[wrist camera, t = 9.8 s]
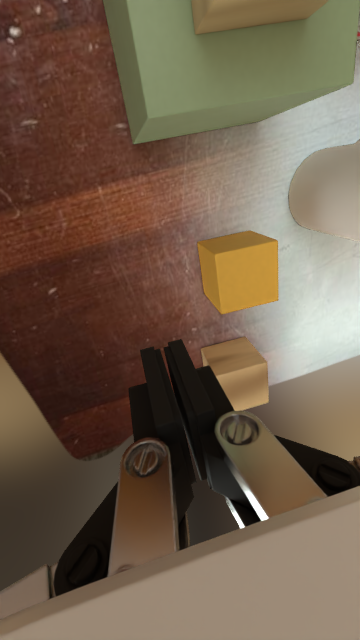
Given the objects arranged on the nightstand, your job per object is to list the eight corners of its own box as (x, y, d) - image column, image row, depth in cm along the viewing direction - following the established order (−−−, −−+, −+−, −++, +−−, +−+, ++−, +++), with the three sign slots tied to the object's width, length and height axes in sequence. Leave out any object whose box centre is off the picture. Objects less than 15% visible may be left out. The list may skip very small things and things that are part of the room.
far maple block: (248, 373, 33) (269, 402, 29) (206, 384, 33) (221, 416, 28) (245, 336, 31) (267, 361, 27) (200, 348, 30) (215, 376, 26)
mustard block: (252, 282, 28) (278, 300, 24) (203, 293, 28) (221, 315, 23) (250, 230, 26) (278, 240, 22) (196, 241, 26) (214, 254, 21)
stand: (259, 121, 23) (353, 83, 14) (133, 144, 21) (147, 118, 13) (252, -70, 18) (387, -311, 9) (91, -53, 17) (69, -308, 8)
